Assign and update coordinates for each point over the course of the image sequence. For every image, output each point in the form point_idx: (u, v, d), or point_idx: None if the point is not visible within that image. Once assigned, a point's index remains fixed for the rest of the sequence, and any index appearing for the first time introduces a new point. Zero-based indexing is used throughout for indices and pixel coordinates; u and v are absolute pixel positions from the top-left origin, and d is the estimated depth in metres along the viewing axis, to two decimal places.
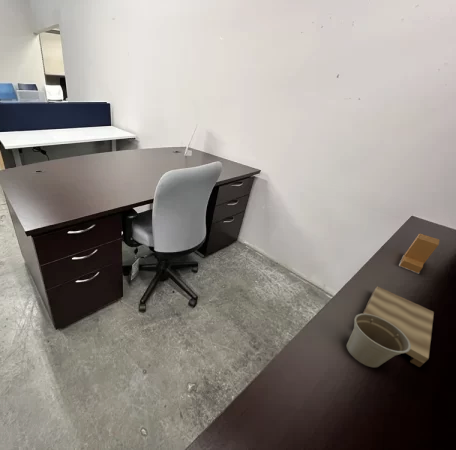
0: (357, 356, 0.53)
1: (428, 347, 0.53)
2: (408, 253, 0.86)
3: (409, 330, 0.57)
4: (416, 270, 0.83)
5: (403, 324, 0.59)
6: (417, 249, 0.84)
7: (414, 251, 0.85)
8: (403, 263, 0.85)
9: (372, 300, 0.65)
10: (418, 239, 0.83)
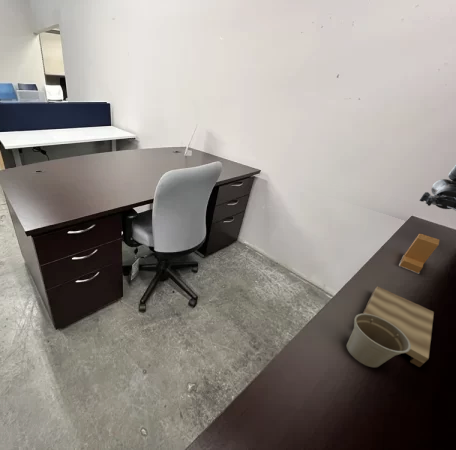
0: (357, 356, 0.53)
1: (428, 347, 0.53)
2: (408, 253, 0.86)
3: (409, 330, 0.57)
4: (416, 270, 0.83)
5: (403, 324, 0.59)
6: (417, 249, 0.84)
7: (414, 251, 0.85)
8: (403, 263, 0.85)
9: (372, 300, 0.65)
10: (418, 239, 0.83)
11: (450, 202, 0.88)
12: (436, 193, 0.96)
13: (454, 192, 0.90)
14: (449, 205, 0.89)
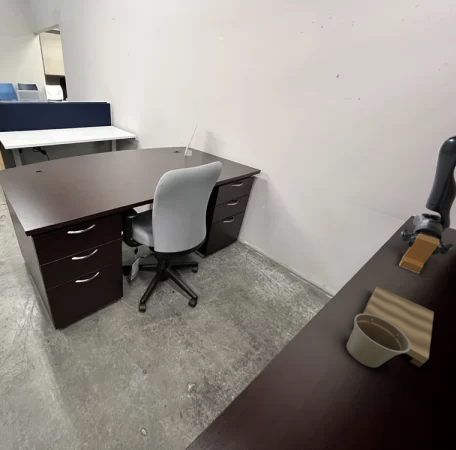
0: (357, 356, 0.53)
1: (428, 347, 0.53)
2: (408, 253, 0.86)
3: (409, 330, 0.57)
4: (416, 270, 0.83)
5: (403, 324, 0.59)
6: (417, 249, 0.84)
7: (414, 250, 0.85)
8: (403, 263, 0.85)
9: (372, 300, 0.65)
10: (418, 239, 0.83)
11: None
12: (415, 229, 0.94)
13: (432, 230, 0.89)
14: None
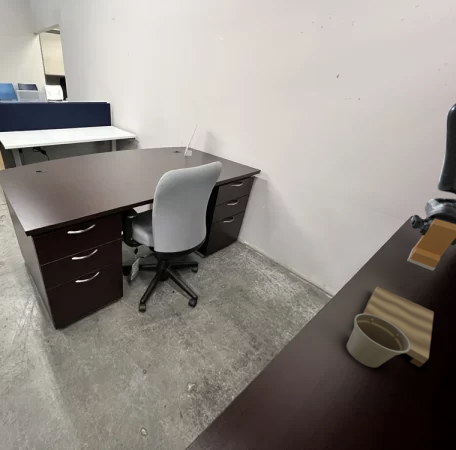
0: (357, 356, 0.53)
1: (428, 347, 0.53)
2: (420, 243, 0.69)
3: (409, 330, 0.57)
4: (431, 264, 0.66)
5: (403, 324, 0.59)
6: (432, 238, 0.67)
7: (428, 240, 0.68)
8: (414, 256, 0.68)
9: (372, 300, 0.65)
10: (434, 225, 0.66)
11: None
12: (428, 215, 0.77)
13: (450, 215, 0.71)
14: None
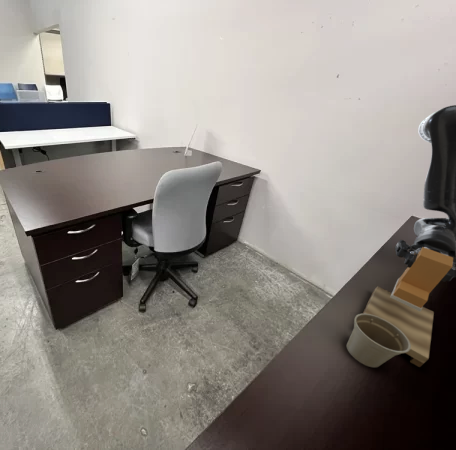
0: (357, 356, 0.53)
1: (428, 347, 0.53)
2: (406, 276, 0.58)
3: (409, 330, 0.57)
4: (418, 304, 0.55)
5: (403, 324, 0.59)
6: (419, 272, 0.56)
7: (415, 273, 0.57)
8: (398, 292, 0.57)
9: (372, 300, 0.65)
10: (421, 257, 0.55)
11: None
12: (416, 240, 0.66)
13: (441, 242, 0.61)
14: None
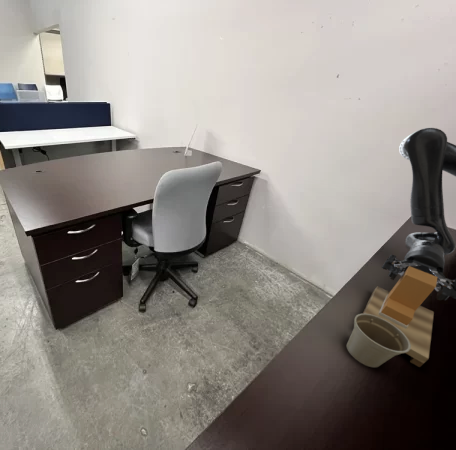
0: (357, 356, 0.53)
1: (428, 347, 0.53)
2: (393, 294, 0.61)
3: (409, 330, 0.57)
4: (404, 321, 0.58)
5: None
6: (405, 290, 0.59)
7: (401, 292, 0.60)
8: (386, 310, 0.60)
9: (372, 300, 0.65)
10: (407, 276, 0.58)
11: None
12: (407, 255, 0.69)
13: (430, 259, 0.63)
14: None
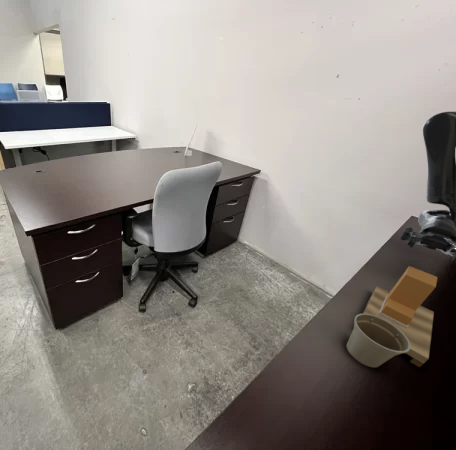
0: (357, 356, 0.53)
1: (428, 347, 0.53)
2: (393, 294, 0.61)
3: (409, 330, 0.57)
4: (404, 321, 0.58)
5: None
6: (405, 290, 0.59)
7: (401, 292, 0.60)
8: (386, 310, 0.60)
9: (372, 300, 0.65)
10: (407, 276, 0.58)
11: (438, 243, 0.68)
12: (422, 228, 0.76)
13: (444, 229, 0.70)
14: (437, 247, 0.68)
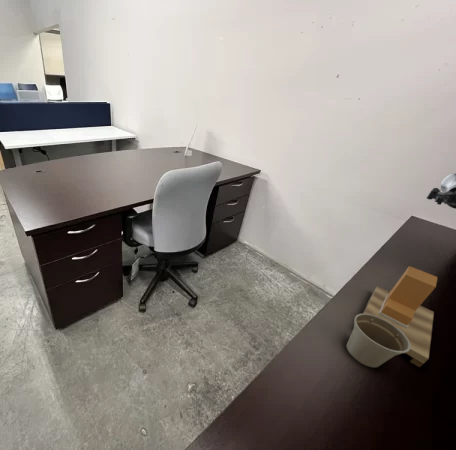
0: (357, 356, 0.53)
1: (428, 347, 0.53)
2: (393, 294, 0.61)
3: (409, 330, 0.57)
4: (404, 321, 0.58)
5: None
6: (405, 290, 0.59)
7: (401, 292, 0.60)
8: (386, 310, 0.60)
9: (372, 300, 0.65)
10: (407, 276, 0.58)
11: None
12: (448, 189, 0.75)
13: None
14: None
